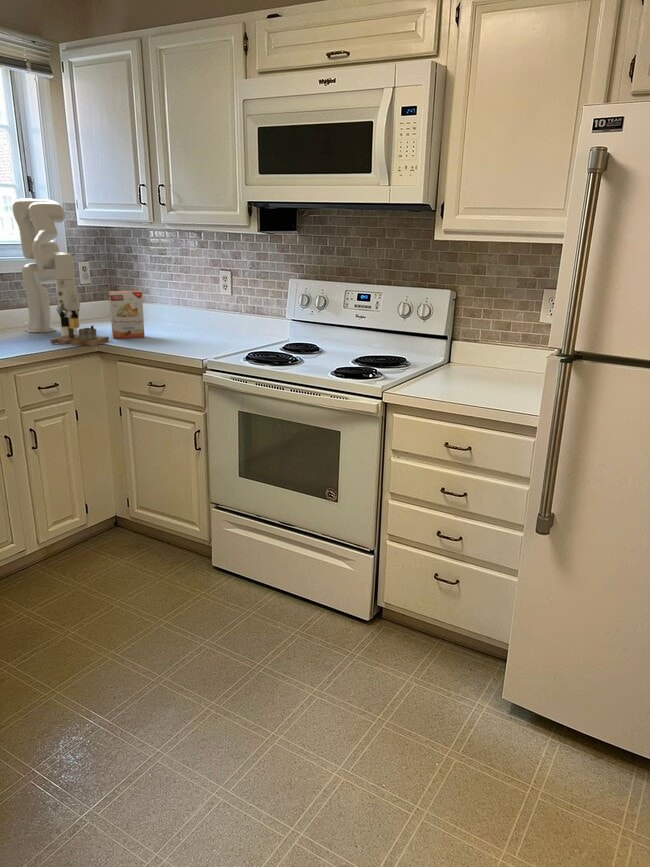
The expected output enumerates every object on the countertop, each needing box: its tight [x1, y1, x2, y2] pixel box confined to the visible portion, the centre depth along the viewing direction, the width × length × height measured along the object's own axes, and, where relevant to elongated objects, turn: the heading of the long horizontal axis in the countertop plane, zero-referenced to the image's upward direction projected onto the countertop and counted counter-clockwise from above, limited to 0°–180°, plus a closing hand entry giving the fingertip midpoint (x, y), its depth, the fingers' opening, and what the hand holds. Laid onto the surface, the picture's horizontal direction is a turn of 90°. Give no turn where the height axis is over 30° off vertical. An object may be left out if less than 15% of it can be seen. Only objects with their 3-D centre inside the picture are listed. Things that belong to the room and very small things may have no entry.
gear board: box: [50, 325, 110, 347], centre depth 280 cm, size 20×13×8 cm, turn 79°
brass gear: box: [62, 317, 80, 329], centre depth 280 cm, size 7×7×4 cm
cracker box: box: [108, 290, 146, 340], centre depth 294 cm, size 14×6×21 cm, turn 112°
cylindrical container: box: [54, 281, 79, 337], centre depth 293 cm, size 7×7×25 cm
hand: (70, 325), depth 280 cm, fingers closed on brass gear, 7 cm apart
